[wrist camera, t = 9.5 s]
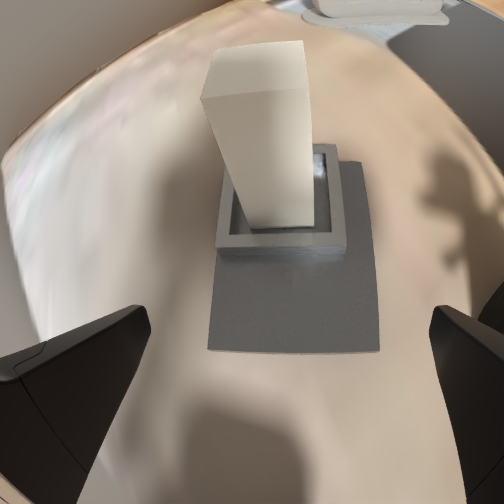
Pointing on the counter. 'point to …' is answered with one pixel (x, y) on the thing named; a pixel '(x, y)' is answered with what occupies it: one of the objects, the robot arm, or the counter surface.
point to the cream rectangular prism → (264, 130)
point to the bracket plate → (298, 272)
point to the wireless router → (374, 13)
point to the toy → (494, 311)
